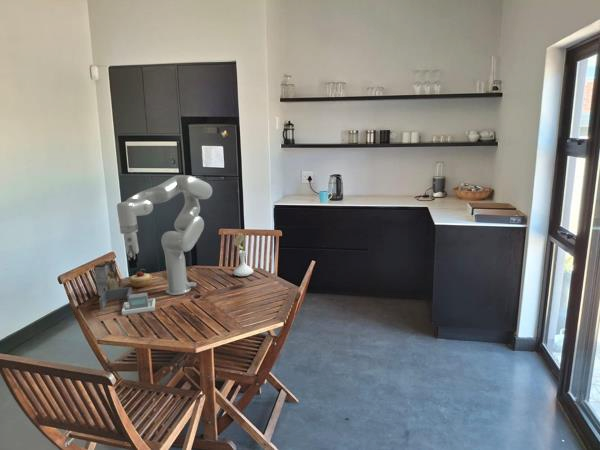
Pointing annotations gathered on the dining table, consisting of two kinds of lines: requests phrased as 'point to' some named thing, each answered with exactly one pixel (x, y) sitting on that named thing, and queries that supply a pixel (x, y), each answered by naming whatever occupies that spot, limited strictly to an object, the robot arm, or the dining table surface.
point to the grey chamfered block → (138, 300)
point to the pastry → (141, 280)
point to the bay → (114, 295)
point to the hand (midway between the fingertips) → (133, 265)
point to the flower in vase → (242, 268)
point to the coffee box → (106, 276)
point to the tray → (128, 311)
